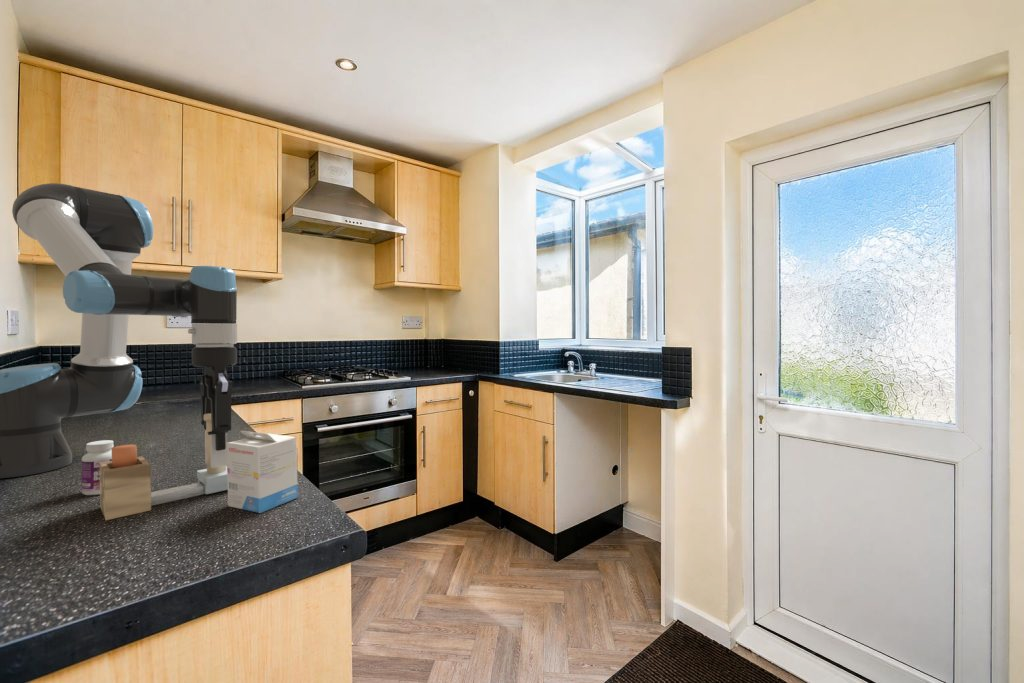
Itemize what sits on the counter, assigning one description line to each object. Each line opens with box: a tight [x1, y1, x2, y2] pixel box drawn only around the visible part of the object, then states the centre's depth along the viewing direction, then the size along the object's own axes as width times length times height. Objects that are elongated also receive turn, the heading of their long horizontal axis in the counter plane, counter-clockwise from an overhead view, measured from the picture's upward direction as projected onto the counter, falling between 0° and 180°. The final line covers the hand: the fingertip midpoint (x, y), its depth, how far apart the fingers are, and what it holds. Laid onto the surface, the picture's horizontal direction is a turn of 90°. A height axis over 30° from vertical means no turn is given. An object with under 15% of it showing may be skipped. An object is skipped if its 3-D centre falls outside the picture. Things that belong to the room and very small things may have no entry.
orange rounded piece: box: [112, 444, 138, 469], centre depth 81 cm, size 3×3×4 cm
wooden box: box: [99, 455, 152, 521], centre depth 82 cm, size 8×6×8 cm
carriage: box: [196, 413, 228, 495], centre depth 92 cm, size 7×5×15 cm
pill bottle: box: [81, 439, 115, 496], centre depth 90 cm, size 5×5×10 cm
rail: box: [151, 482, 206, 507], centre depth 89 cm, size 6×15×3 cm, turn 137°
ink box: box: [226, 430, 299, 514], centre depth 85 cm, size 9×8×13 cm
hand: (216, 463), depth 92 cm, fingers closed on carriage, 3 cm apart
